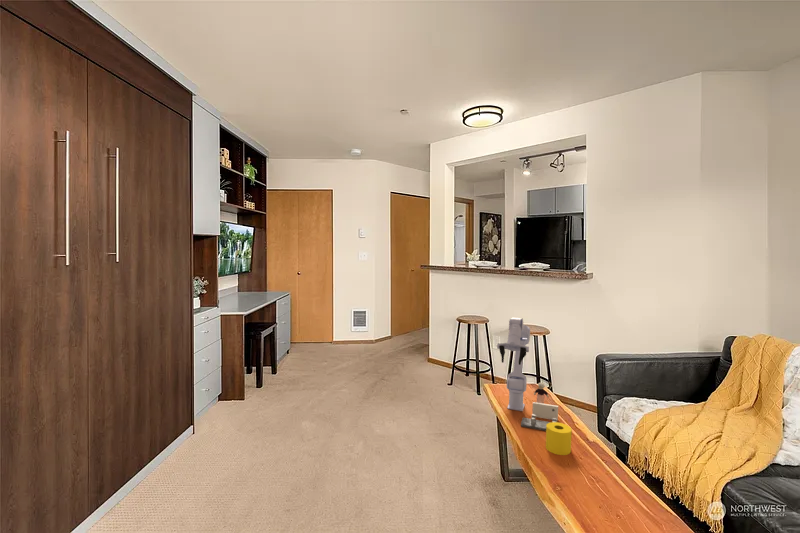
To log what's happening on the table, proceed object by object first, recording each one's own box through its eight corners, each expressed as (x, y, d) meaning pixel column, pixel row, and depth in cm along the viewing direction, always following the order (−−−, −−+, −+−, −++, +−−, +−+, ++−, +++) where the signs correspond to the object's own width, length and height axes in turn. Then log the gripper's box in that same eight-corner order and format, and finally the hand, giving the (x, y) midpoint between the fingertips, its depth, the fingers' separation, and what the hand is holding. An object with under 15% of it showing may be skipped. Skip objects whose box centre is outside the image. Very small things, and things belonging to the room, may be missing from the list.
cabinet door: (532, 415, 204) (532, 401, 204) (557, 419, 200) (558, 405, 199) (532, 417, 202) (532, 403, 202) (557, 421, 197) (558, 407, 197)
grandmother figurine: (532, 405, 216) (533, 382, 215) (533, 403, 219) (534, 380, 219) (548, 408, 213) (549, 384, 212) (548, 405, 217) (549, 382, 216)
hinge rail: (522, 419, 199) (522, 411, 198) (566, 427, 191) (566, 418, 191) (520, 426, 191) (521, 417, 191) (566, 434, 184) (566, 425, 183)
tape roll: (550, 454, 166) (550, 432, 166) (542, 442, 176) (543, 421, 176) (574, 455, 166) (575, 433, 165) (565, 443, 176) (566, 422, 175)
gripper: (498, 332, 195) (494, 355, 186) (529, 335, 190) (526, 359, 181) (499, 340, 200) (495, 364, 191) (529, 343, 194) (527, 368, 185)
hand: (510, 362), depth 186 cm, fingers open, 7 cm apart
